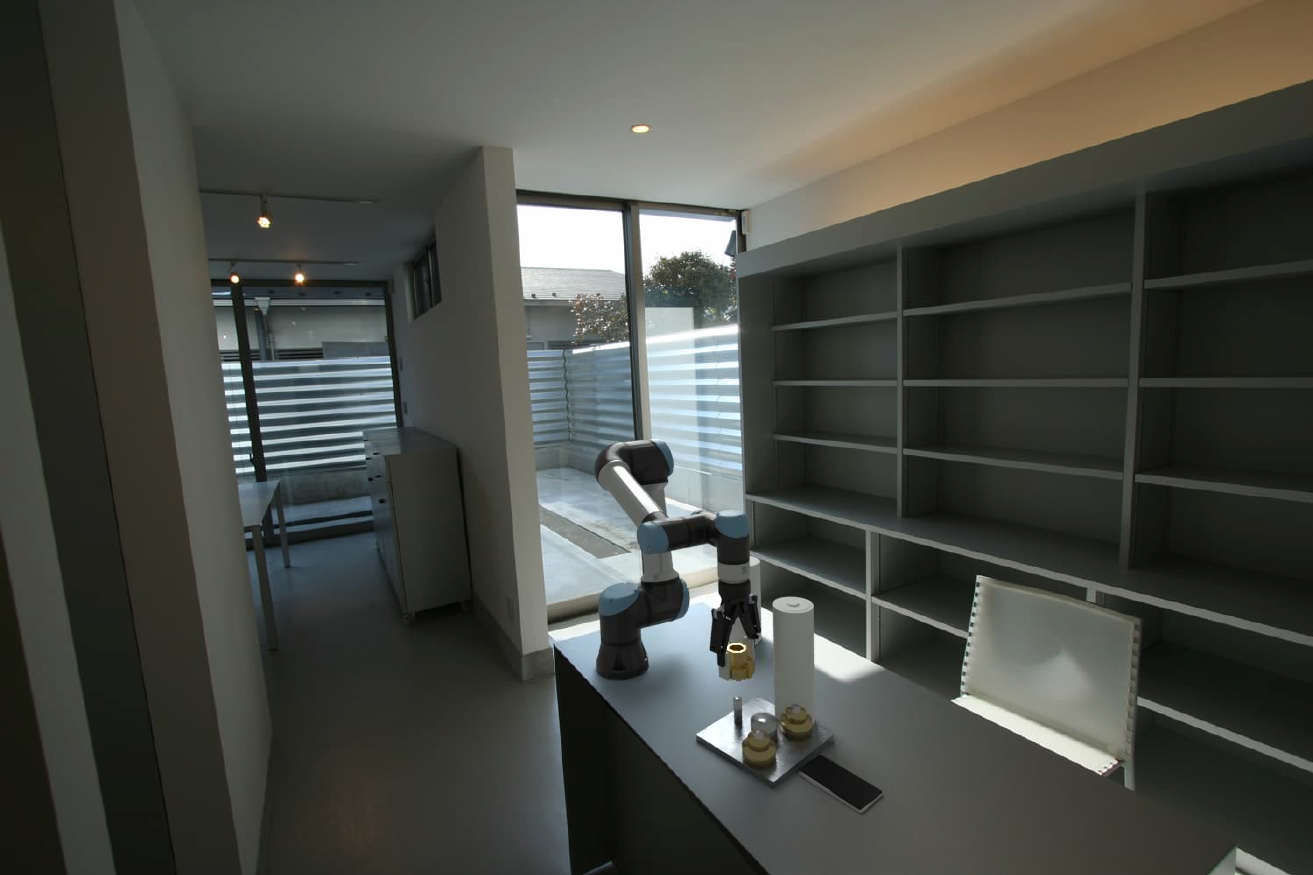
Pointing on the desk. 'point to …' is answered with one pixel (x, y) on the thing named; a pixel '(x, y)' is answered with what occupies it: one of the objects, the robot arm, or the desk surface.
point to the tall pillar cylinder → (737, 628)
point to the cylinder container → (793, 655)
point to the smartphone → (840, 783)
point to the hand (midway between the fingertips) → (737, 670)
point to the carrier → (765, 739)
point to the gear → (740, 662)
